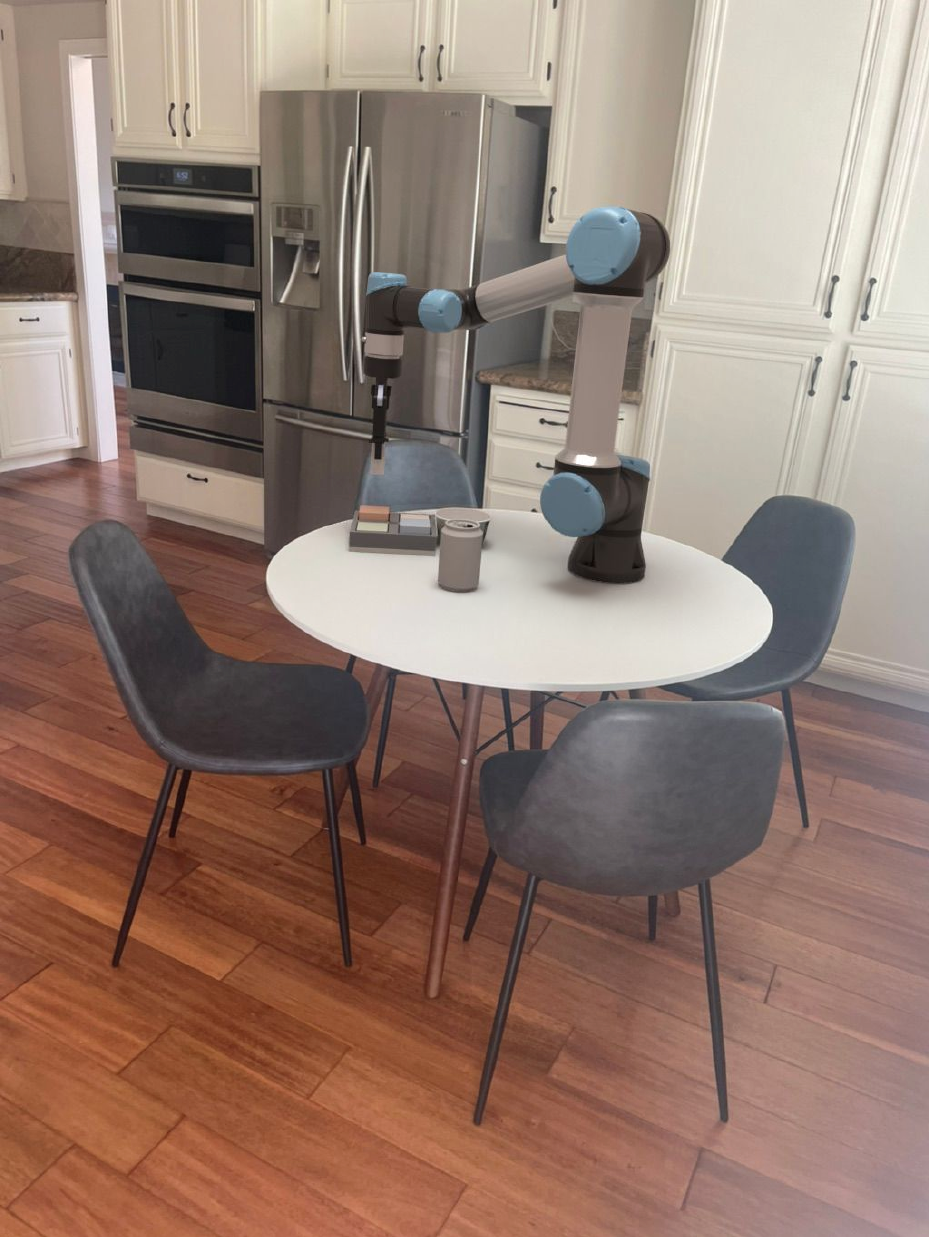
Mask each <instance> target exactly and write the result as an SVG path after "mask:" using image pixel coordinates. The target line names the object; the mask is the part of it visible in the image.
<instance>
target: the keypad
mask: <svg viewBox="0 0 929 1237" xmlns="http://www.w3.org/2000/svg"><path fill="white" fill-rule="evenodd" d="M359 511H360V510H354V514H353V517H352V522H351V526H350V529H349V542H348V543H349V546H348V547H349V548H348V551H349V552H350V553H351V552H353V553H354V552H355V553H369V554H370V553H371V554H387V555H389V554H392V555H394V554H395V555H407V556H408V555H409V556H424V557H425V556H427V557H436V551H437V550H436V548H437V523H436V516H435V515H434V514H426V513H425V514H424V513H409V512H408V513H407V512H391V511H389V521H371V520H359ZM401 514H412V515H429V519H430V535H421V534H403V533H400V518H401ZM358 522H367V523H385V524H388V533H385V532H367V531H357V526H358Z"/></svg>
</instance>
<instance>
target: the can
mask: <svg viewBox="0 0 929 1237" xmlns="http://www.w3.org/2000/svg"><path fill="white" fill-rule="evenodd" d="M445 524H446V525H445V526H444V527H443V528H442V529H441V540H440V545H439V559H438V575H437V582H438V584H439V585H441V587H442V588H443V589H445V590H447V591H452V592H460V593H463V592H465V593H466V592H470V591H472V590H475V588H476V587H478V586H479V585H480V575H481V574H480V572H481V560H482V549H483V548H482V538H483V532H482V531H481V529H480V528H479V527H480V524H479V523H478V522H476V521H473V520H468V519H450V520H447V521H446V522H445Z"/></svg>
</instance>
